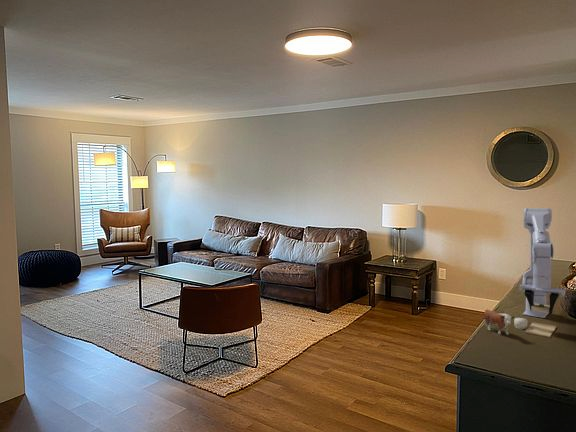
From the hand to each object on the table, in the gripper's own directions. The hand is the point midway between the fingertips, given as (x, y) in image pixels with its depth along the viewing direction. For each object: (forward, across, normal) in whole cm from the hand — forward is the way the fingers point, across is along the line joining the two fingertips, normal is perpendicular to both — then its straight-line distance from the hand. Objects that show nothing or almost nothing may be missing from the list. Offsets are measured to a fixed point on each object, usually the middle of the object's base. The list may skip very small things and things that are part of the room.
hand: (541, 311), depth 162 cm
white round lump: (+7, -6, -1) cm, 10 cm away
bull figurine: (+7, -12, -12) cm, 18 cm away
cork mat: (+7, 0, 0) cm, 7 cm away
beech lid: (-1, 0, 0) cm, 1 cm away
